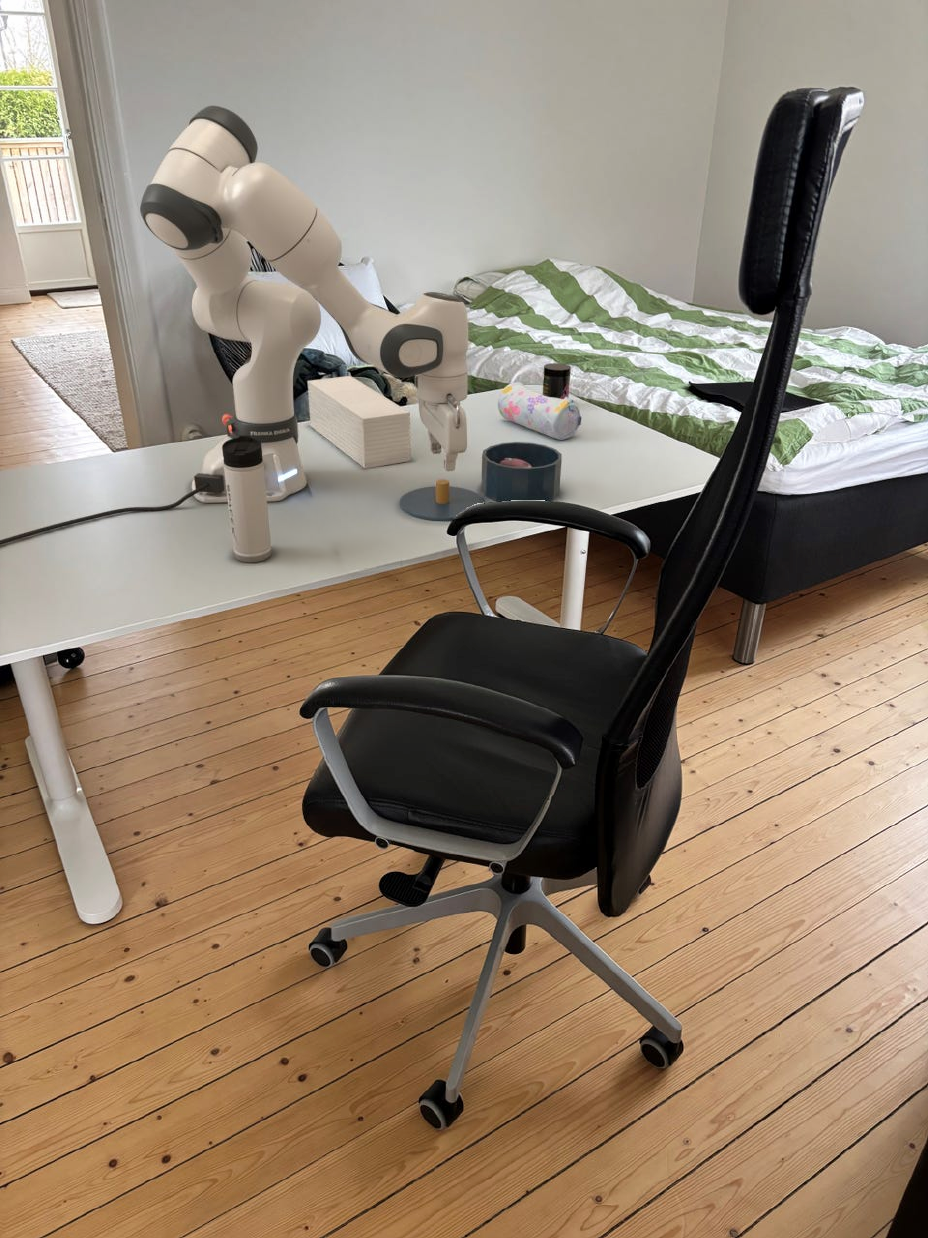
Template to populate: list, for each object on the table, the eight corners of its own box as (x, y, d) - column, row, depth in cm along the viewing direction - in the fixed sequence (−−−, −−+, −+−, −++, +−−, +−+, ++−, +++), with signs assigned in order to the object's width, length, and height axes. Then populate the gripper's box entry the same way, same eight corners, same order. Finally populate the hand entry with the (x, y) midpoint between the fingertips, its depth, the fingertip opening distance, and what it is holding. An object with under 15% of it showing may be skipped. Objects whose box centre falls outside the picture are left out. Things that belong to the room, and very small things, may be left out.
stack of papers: (410, 461, 200) (410, 412, 195) (364, 468, 195) (363, 418, 190) (352, 420, 224) (350, 375, 219) (310, 426, 219) (307, 380, 214)
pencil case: (582, 437, 216) (585, 397, 211) (556, 444, 211) (559, 403, 206) (519, 416, 230) (521, 377, 225) (493, 422, 225) (495, 383, 220)
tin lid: (411, 528, 169) (411, 501, 166) (391, 495, 182) (390, 470, 180) (496, 519, 173) (497, 493, 171) (469, 488, 187) (470, 463, 184)
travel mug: (274, 546, 161) (264, 434, 151) (268, 563, 155) (257, 448, 145) (238, 546, 161) (225, 434, 151) (231, 563, 155) (217, 447, 145)
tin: (496, 511, 176) (497, 471, 172) (471, 483, 189) (472, 445, 185) (570, 503, 180) (574, 464, 177) (541, 476, 193) (544, 439, 189)
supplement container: (554, 413, 232) (557, 371, 227) (535, 406, 237) (538, 365, 232) (573, 408, 236) (576, 367, 231) (554, 402, 241) (557, 361, 236)
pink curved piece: (531, 502, 183) (545, 469, 182) (517, 497, 180) (530, 463, 179) (498, 488, 190) (511, 455, 188) (483, 483, 186) (496, 450, 185)
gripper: (476, 402, 158) (475, 478, 165) (444, 371, 175) (444, 442, 182) (441, 404, 157) (440, 482, 163) (412, 373, 174) (413, 444, 180)
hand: (442, 460), depth 173 cm, fingers open, 8 cm apart
